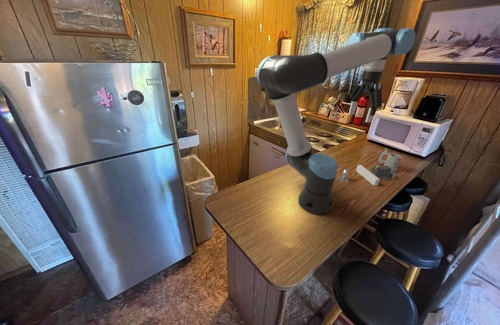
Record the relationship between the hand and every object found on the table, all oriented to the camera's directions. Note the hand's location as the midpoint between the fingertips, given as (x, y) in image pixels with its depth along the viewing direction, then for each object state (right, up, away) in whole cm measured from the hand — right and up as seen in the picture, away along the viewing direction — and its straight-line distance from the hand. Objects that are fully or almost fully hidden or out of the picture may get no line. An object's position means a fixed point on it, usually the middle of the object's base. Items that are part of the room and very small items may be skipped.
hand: (359, 118), depth 97 cm
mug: (+32, -26, +27) cm, 49 cm away
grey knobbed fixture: (-1, -31, +15) cm, 35 cm away
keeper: (+21, -30, +17) cm, 41 cm away
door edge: (+13, -31, +16) cm, 37 cm away
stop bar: (+21, -30, +17) cm, 40 cm away
